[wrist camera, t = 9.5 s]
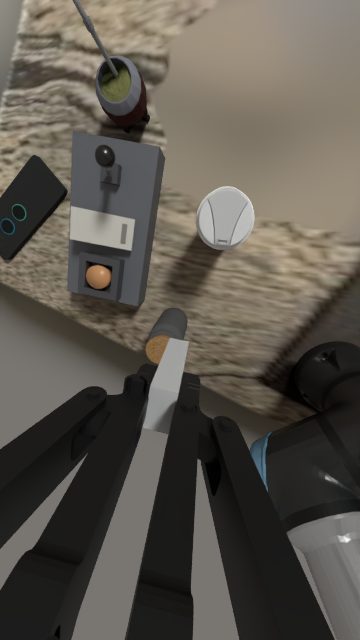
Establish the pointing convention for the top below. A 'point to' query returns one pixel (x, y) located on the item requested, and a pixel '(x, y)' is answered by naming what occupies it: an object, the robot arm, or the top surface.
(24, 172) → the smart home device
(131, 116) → the mate gourd
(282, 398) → the top surface
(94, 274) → the push button
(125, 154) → the console
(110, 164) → the toggle lever
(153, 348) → the bottle
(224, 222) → the paper cup
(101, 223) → the plate
